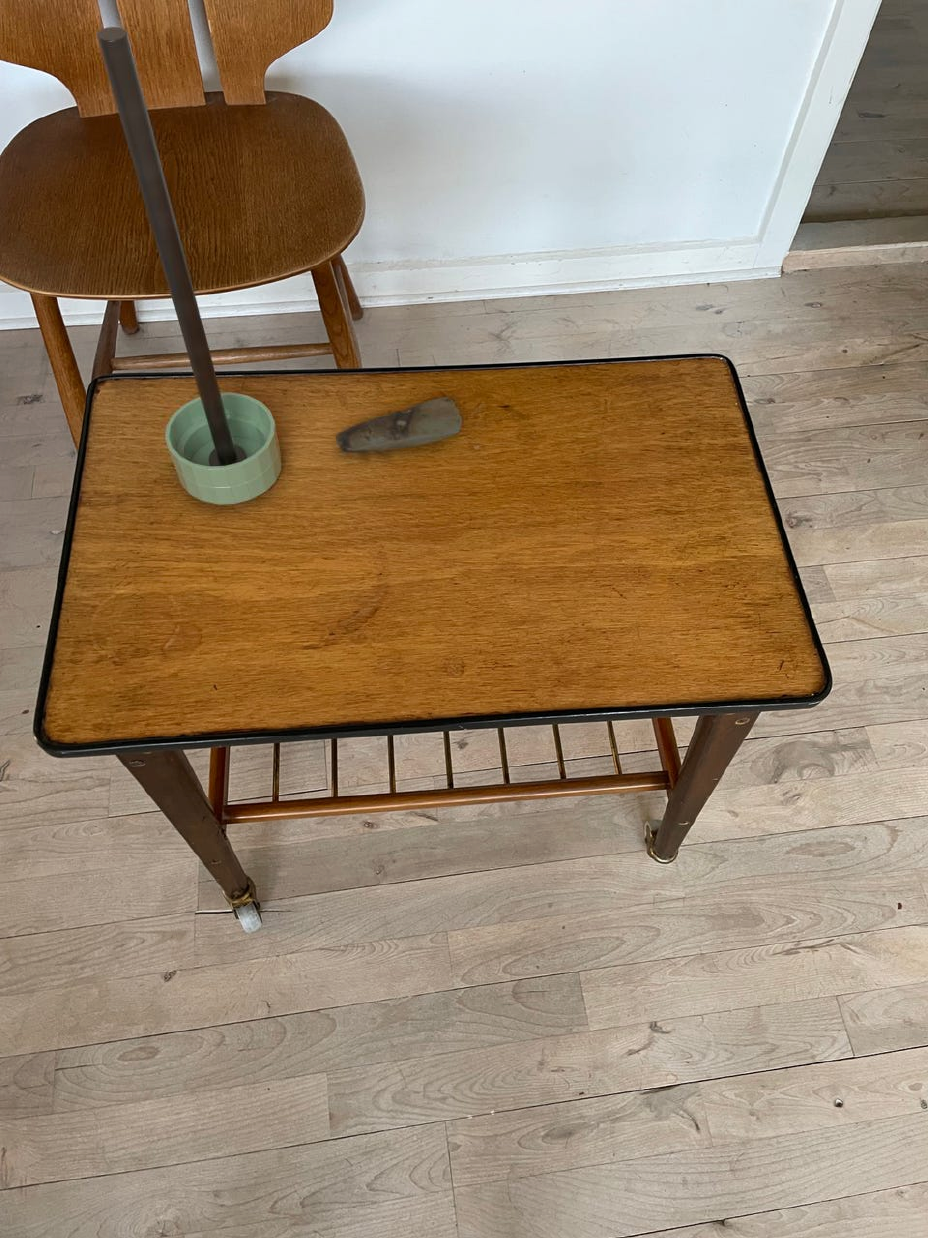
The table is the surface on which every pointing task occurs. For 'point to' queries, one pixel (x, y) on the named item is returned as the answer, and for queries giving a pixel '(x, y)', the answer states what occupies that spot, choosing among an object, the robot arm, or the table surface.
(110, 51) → the stick
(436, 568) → the table surface
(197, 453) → the bowl
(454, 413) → the stone
